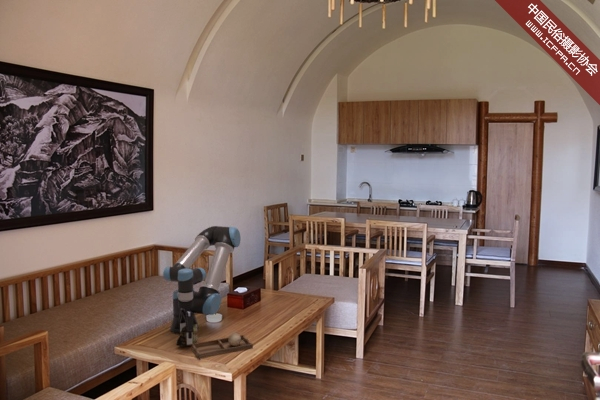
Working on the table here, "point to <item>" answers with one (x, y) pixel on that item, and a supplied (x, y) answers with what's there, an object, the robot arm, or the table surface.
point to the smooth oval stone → (234, 339)
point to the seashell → (183, 336)
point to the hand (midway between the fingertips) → (186, 339)
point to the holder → (219, 347)
